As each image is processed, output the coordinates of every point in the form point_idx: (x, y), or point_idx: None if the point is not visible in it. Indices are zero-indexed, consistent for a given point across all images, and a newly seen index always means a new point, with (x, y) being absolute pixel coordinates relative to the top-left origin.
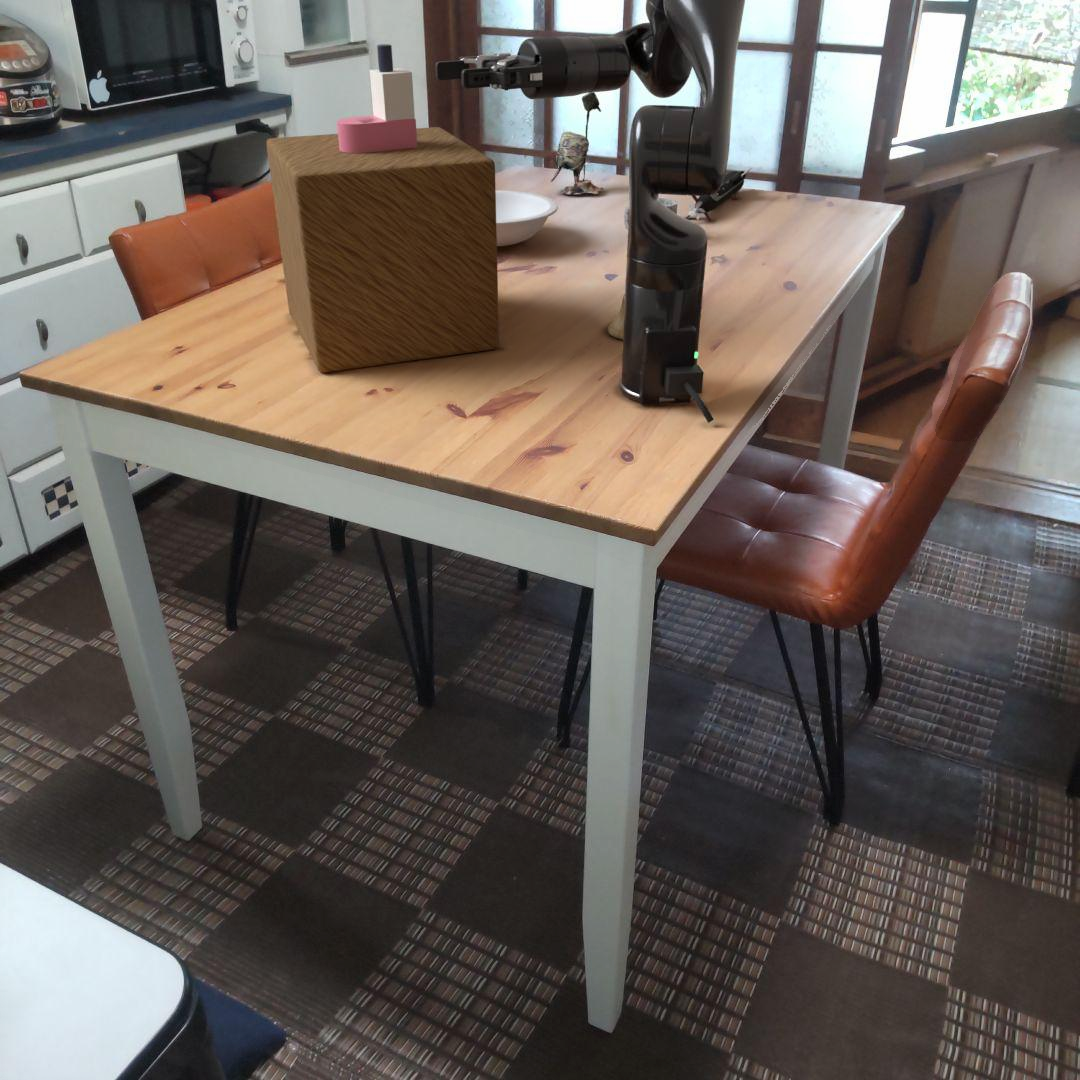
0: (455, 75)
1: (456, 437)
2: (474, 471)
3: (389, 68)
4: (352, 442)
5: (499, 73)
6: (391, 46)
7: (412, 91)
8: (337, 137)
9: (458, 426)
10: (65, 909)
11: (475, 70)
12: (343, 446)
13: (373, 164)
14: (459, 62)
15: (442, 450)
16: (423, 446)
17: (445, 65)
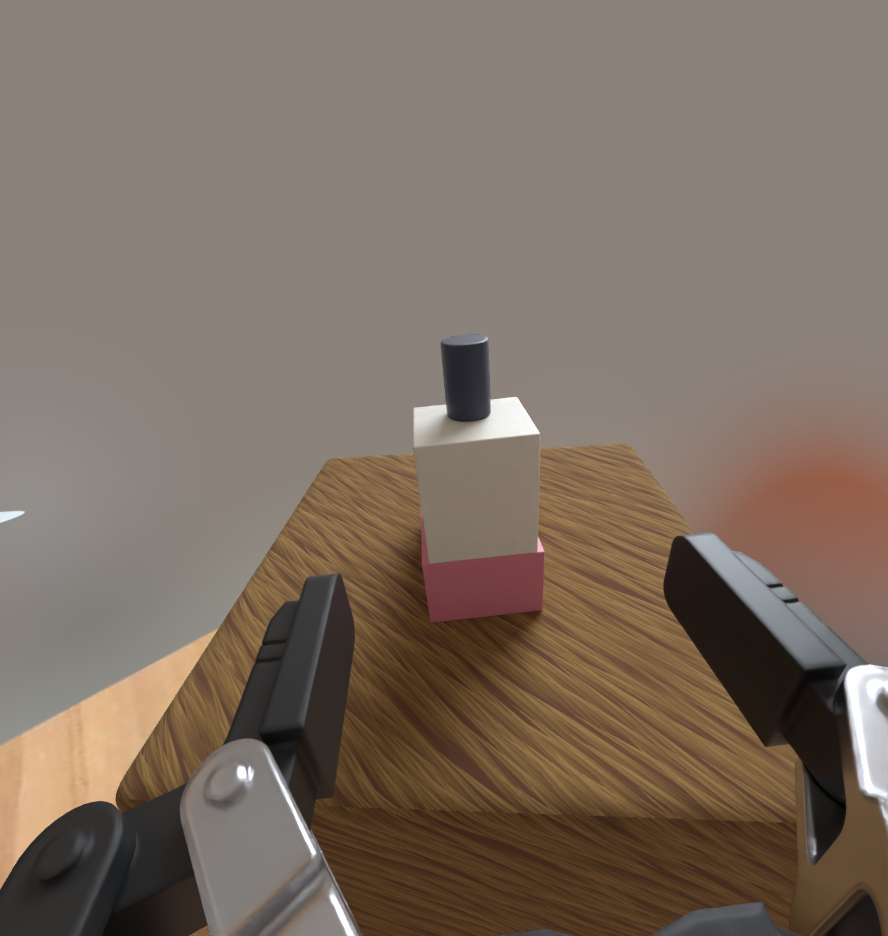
0: (734, 676)
1: (104, 756)
2: (28, 748)
3: (446, 407)
4: (200, 652)
5: (147, 806)
6: (453, 349)
7: (420, 498)
8: (620, 509)
9: (122, 769)
10: (8, 519)
11: (290, 630)
12: (201, 643)
13: (316, 527)
14: (780, 653)
15: (99, 729)
16: (127, 713)
17: (702, 577)
